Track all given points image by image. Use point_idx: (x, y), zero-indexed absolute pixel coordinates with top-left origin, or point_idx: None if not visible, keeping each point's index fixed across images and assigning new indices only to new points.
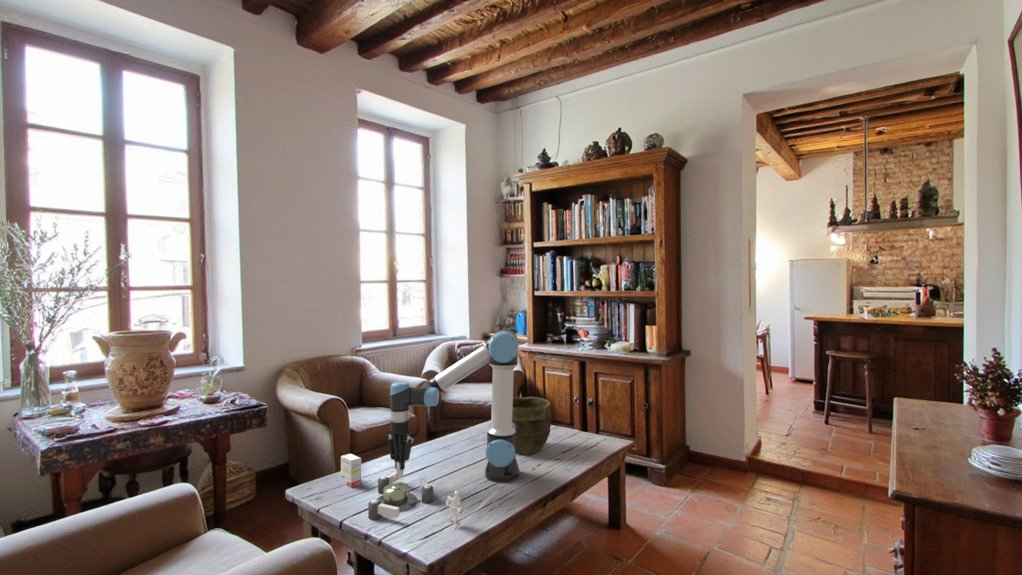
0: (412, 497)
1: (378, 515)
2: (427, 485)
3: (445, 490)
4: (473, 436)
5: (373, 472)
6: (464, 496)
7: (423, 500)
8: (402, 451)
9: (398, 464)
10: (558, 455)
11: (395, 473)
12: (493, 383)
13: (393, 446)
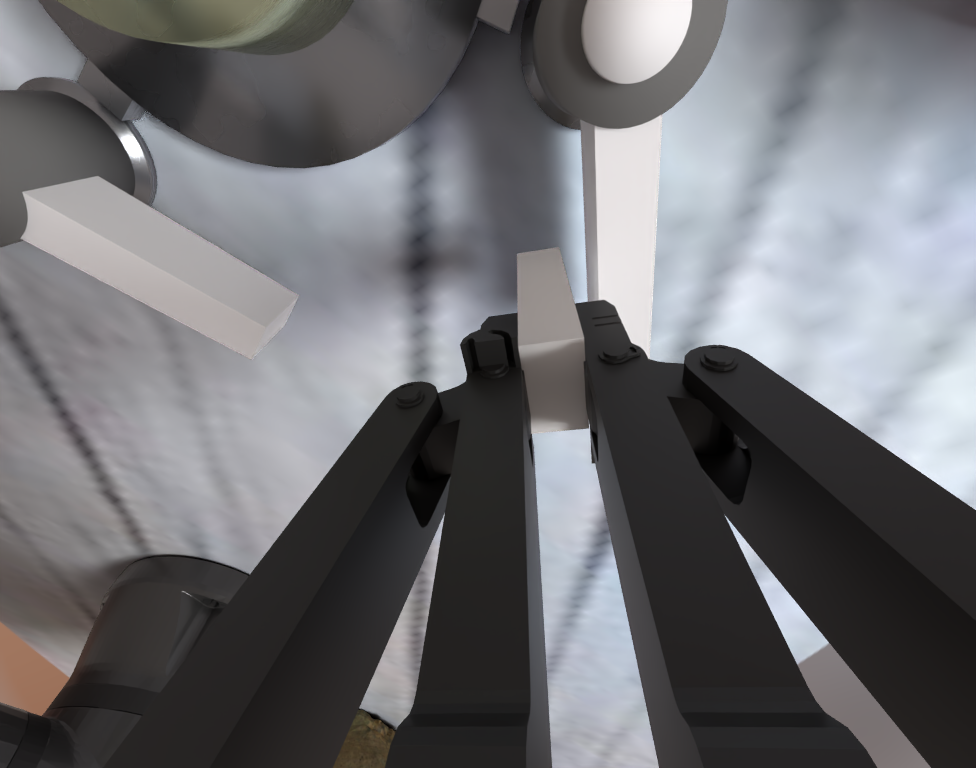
0: (195, 99)
1: None
2: None
3: (227, 386)
4: (612, 747)
5: (963, 348)
6: (65, 382)
7: (18, 90)
8: (447, 541)
9: (534, 326)
10: None
11: (607, 289)
12: None
13: (863, 634)
